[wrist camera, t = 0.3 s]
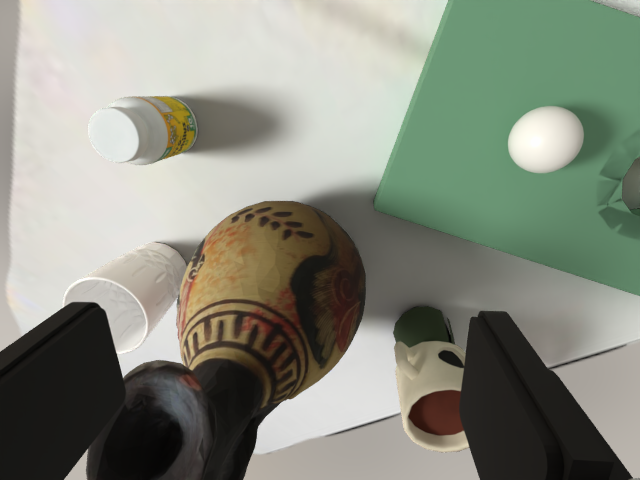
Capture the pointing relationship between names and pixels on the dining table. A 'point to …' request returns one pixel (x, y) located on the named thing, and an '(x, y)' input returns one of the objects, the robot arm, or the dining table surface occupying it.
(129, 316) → the white cup
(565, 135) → the golf ball
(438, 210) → the board
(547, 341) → the dining table surface
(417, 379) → the character mug
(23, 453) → the robot arm
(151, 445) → the ceramic jug
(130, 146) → the supplement bottle
